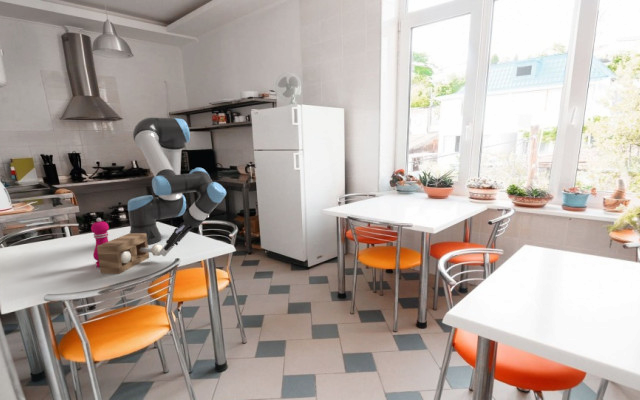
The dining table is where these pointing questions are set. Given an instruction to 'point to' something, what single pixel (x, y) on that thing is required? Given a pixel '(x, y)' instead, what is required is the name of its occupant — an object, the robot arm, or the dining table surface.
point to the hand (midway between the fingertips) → (162, 253)
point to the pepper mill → (99, 236)
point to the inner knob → (153, 250)
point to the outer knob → (125, 256)
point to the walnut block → (113, 248)
